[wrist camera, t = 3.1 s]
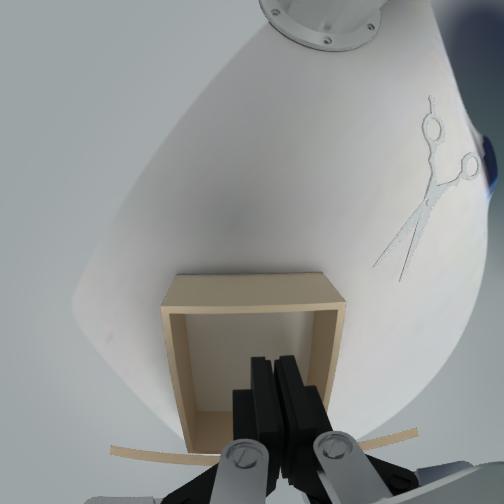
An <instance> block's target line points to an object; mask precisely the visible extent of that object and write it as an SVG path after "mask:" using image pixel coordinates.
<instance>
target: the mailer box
mask: <svg viewBox="0 0 504 504" xmlns="http://www.w3.org/2000/svg"><path fill="white" fill-rule="evenodd" d="M160 307H161V315H162V322H163V329H164V336H165V342H166V349H167V355H168V361H169V367H170V372H171V378H172V383H173V388H174V393H175V398H176V403H177V408H178V413H179V417H180V422H181V426H182V430H183V435H184V439H185V443H186V447H187V451H188V453H199V454H221V452H222V450H223V448H224V447H225V446H226V445H227V444H228V443H230V442H232V441H233V402H232V390H236V389H251V357H263V356H265V359H266V360H271V364H272V369H273V373H274V360H276V359H279V356H284V355H294V356H295V359H296V362H297V366H298V369H299V372H300V375H301V378H302V381H303V384H304V386H309V385H315V386H316V387H317V389H318V392H319V395H320V397H321V400H322V403H323V405H324V408H325V411H326V413H327V410H328V405H329V401H330V396H331V391H332V386H333V381H334V376H335V371H336V365H337V360H338V354H339V348H340V342H341V336H342V329H343V323H344V316H345V308H346V301H345V300H344V298H343V297H342V296H341V295H340V293H339V292H338V291H337V290H336V288H335V287H334V286H333V285H332V284H331V282H330V281H329V280H328V279H327V277H326V276H325V275H324V274H323V273H322V272H313V273H271V274H198V275H176V277H175V279H174V281H173V283H172V285H171V286H170V288H169V290H168V292H167V294H166V296H165V298H164V300H163V302H162V304H161V306H160Z"/></svg>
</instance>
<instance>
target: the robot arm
mask: <svg viewBox="0 0 504 504" xmlns="http://www.w3.org/2000/svg"><path fill="white" fill-rule="evenodd" d="M387 1H388V0H259V3H260V7H261V9H262V11H263V13H264V15H265V16H266V18H267V19H268V20H269V21H270V23H271V24H272V25H273V26H274V27H275V28H277V29H278V30H279V31H280V32H281V33H283V34H284V35H286V36H287V37H289V38H290V39H292V40H294V41H296V42H298V43H301V44H303V45H305V46H308V47H312V48H315V49H320V50H325V51H346V50H352V49H355V48H358V47H360V46H362V45H363V44H365V43H367V42H368V41H369V40H370V39H371V38H372V37H374V35H375V34H376V33H377V31H378V29H379V26H380V23H381V11H380V8H381V7H382V6H383V5H384V4H385V3H386V2H387ZM275 15H276V16H275ZM324 42H326V43H327V44H326V43H324ZM232 402H233V441H232V442H230V443H228V444H227V445H226V446H225V447H224V448H223V450H222V452H221V456H220V461H219V462H218V463H217V464H215V465H214V466H212V467H211V468H210V469H208V470H207V471H205V472H204V473H202V474H201V475H199V476H198V477H196V478H195V479H193V480H191V481H190V482H188V483H187V484H185V485H183V486H182V487H180V488H178V489H177V490H175V491H174V492H172V493H170V494H168V495H167V496H166V497H165V498H160V499H154V498H153V497H92V498H91V499H88V500H87V501H86V502H85V503H84V504H265V499H266V497H267V496H268V495H269V494H270V493H271V492H272V491H274V490H275V488H276V481H277V479H278V478H279V472H280V467H281V473H282V477H283V479H285V478H288V482H289V485H293V486H294V487H295V488H296V489H298V490H300V491H301V493H302V497H303V500H304V502H305V504H504V462H502V461H499V462H489V463H484V464H479V465H476V466H473V465H472V464H470V463H469V462H466V461H457V462H453V463H447V464H442V465H437V466H432V467H426V468H419V469H417V470H416V471H415V472H412V471H410V470H408V469H405V468H402V467H399V466H397V465H394V464H391V463H388V462H385V461H382V460H380V459H377V458H374V457H372V456H369V455H367V454H364V452H363V451H362V449H361V448H360V446H359V445H358V443H357V442H356V440H355V439H354V438H353V437H352V436H351V435H349V434H347V433H345V432H341V431H333V429H332V427H331V424H330V421H329V419H328V416H327V413H326V411H325V408H324V405H323V403H322V400H321V397H320V395H319V392H318V389H317V387H316V386H315V385H309V386H304V384H303V381H302V378H301V375H300V372H299V369H298V366H297V362H296V359H295V356H294V355H284V356H279V359H276V360H274V373H273V369H272V364H271V360H266V359H265V356H263V357H251V389H236V390H232Z"/></svg>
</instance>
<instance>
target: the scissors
mask: <svg viewBox="0 0 504 504" xmlns="http://www.w3.org/2000/svg"><path fill="white" fill-rule="evenodd" d="M428 99H429V102H430V112H431V114H428V115H427V116H426V117H425V118H424V120H423V124H422V131H423V135H424V138H425V140H426V141H427V143H428V144H429V149H430V153H431V154H430V156H429V159H428V161H429V164H430V166H431V177H430V180H429V184H428V187H427V191H426V194H425V197H424V200H423V202H422V203H421V204H420V205H419V207H418V208H417V209H416V211H415V212H414V213H413V215H412V216H411V217H410V218H409V220H408V221H407V222H406V224H405V225H404V226H403V228H402V229H401V230H400V232H399V233H398V234H397V236H396V237H395V238H394V240H393V241H392V242H391V244H390V245H389V246H388V248H387V249H386V250H385V251H384V253H383V254H382V255H381V257H380V258H379V259H378V261H377V262H376V264H377V263H378V262H379V261H380V260H381V259H382V258H383V257H384V256H385V255H387V254H388V253H389V252H390V251H391V250H392V249H393V248H394V247H395V246H396V244H397V243H398V242H399V241H400V240H401V239H402V238H403V237H404V236H405V235H406V234H407V233H408V232H409V231H410V230H411V229H412V228H413V227H414V226H415V225H416V223H417V222H418V224H417V227H416V231H415V234H414V237H413V241H412V244H411V247H410V251H409V254H408V257H407V261H406V264H405V267H404V270H403V273H402V276H403V274H404V272H405V270H406V268H407V266H408V264H409V262H410V260H411V258H412V256H413V254H414V252H415V249H416V247H417V245H418V243H419V240H420V238H421V236H422V233H423V231H424V228H425V226H426V223H427V220H428V218H429V215H430V212H431V210H432V207H433V206H434V205H435V204H436V203H437V202H438V200H439V199H440V197H441V196H442V195H443V194H444V193H445V191H446V190H447V189H448V188H449V187H450V186H452V185H454V186H457V184H458V183H459V181H460V179H467V180H473V179H475V178H476V177H477V176H478V175H479V173H480V169H481V162H480V158H479V156H478V155H477V154H476V153H468V154H467V155H465V156H464V157H463V159H462V160H461V172H460V173H459V175H458V177H457V178H456V179H455V180H453V181H451V182H449V183H446V184H441V185H438V186H437V180H436V172H435V165H434V154H435V151H436V148H437V146H438V145H439V144H440V143H442V142H444V140H445V130H444V125H443V122H442V120H441V119H440V118H439V117H438V116H437V115H436V113H435V107H434V97H433V96H432V95H430V96H429V98H428ZM431 118H433V119H435V120H436V121H437V122H438V123H439V125H440V135H439V137H438V139H437V140H436V141H433V140H432V139H431V138H430V137H429V136H428V132H427V125H428V122H429V120H430V119H431ZM471 157H474V158H475V159H476V161H477V164H478V167H477V171H476V173H475V175H473V176H469V175H468V174H467V173H466V163H467V162H468V160H469V158H471ZM376 264H375V265H376ZM375 265H374V266H375ZM374 266H373V267H374ZM402 276H401V278H402ZM400 280H401V279H400Z"/></svg>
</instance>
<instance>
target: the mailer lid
mask: <svg viewBox="0 0 504 504" xmlns="http://www.w3.org/2000/svg"><path fill="white" fill-rule="evenodd" d="M417 436H418V430H417V428H413V429H410V430H407V431H403V432H400V433H396V434H392V435H388V436H384V437H380V438H376V439H372V440H368V441H363V442H358V445H359V446H360V448H361V449H362V451H366V450H370V449H374V448H378V447H382V446H386V445H389V444H393V443H397V442H400V441H404V440H407V439H410V438H413V437H417ZM110 452H111V453H110V454H111V455H115V456H120V457H126V458H132V459H138V460H145V461H154V462H162V463H173V464H185V465H204V466H214V465H215V464H217V463H218V462H219V461H220V456H203V455H183V454H171V453H160V452H151V451H143V450H136V449H129V448H123V447H116V446H111V451H110Z"/></svg>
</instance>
